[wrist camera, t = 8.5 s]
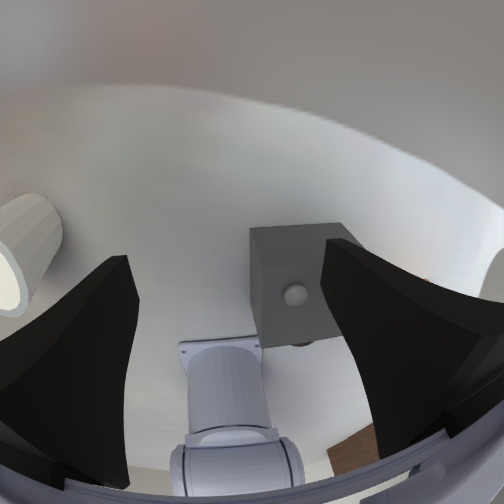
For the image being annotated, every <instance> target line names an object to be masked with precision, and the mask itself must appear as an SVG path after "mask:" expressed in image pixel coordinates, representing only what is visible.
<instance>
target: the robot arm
mask: <svg viewBox="0 0 504 504" xmlns="http://www.w3.org/2000/svg"><path fill="white" fill-rule="evenodd" d="M320 286H321V289H322V292H323V295H324V298H325V300H326V303H327V306H328V308H329V310H330V312H331V314H332V316H333V318H334V319H335V321H336V323H337V325H338V327H339V329H340V331H341V333H342V335H343V337H344V339H345V341H346V343H347V345H348V346H349V348H350V350H351V353H352V355H353V357H354V359H355V362H356V365H357V368H358V370H359V373H360V376H361V379H362V382H363V385H364V389H365V392H366V396H367V399H368V403H369V407H370V411H371V415H372V419H373V424H374V429H375V435H376V441H377V447H378V455H379V458H380V460H379V461H377V462H374V463H372V464H369V465H367V466H364V467H361V468H358V469H356V470H353V471H350V472H347V473H344V474H340V475H337V476H334V477H330V478H327V479H324V480H319V481H316V482H312V483H307V484H305V473H304V467H303V463H302V459H301V456H300V453H299V451H298V448H297V447H296V445H295V444H294V443H293V442H292V441H290V440H289V439H288V438H287V437H280V438H279V434H278V430H277V428H272V426H271V421H270V417H269V412H268V407H267V403H266V398H265V393H264V389H263V384H262V379H261V377H262V349H261V348H260V344H259V339H258V336H257V337H247V338H238V339H227V340H216V341H202V342H187V343H180V344H179V345H178V350H179V353H180V357H181V360H182V363H183V366H184V369H185V372H186V375H187V378H188V421H189V434H186V435H185V444H179V445H178V446H177V447H176V448H175V449H174V450H173V451H172V454H171V458H170V479H171V487H172V491H173V495H174V496H164V495H151V494H142V493H133V492H127V491H121V490H123V489H125V488H127V487H128V486H129V485H130V480H129V475H128V469H127V461H126V454H125V442H124V388H125V379H126V372H127V367H128V363H129V358H130V353H131V349H132V344H133V340H134V335H135V331H136V327H137V321H138V313H139V303H140V299H139V296H138V293H137V289H136V286H135V283H134V279H133V276H132V272H131V269H130V265H129V262H128V258H127V255H121V256H111V257H110V258H108V259H107V260H106V261H104V262H103V263H102V264H101V265H99V266H98V267H97V268H96V269H95V270H93V271H92V272H91V273H90V274H89V275H88V276H87V277H85V278H84V279H83V280H82V281H81V282H80V283H79V284H78V285H76V286H75V287H74V288H73V289H72V290H71V291H69V292H68V293H67V294H66V295H65V296H64V297H62V298H61V299H60V300H59V301H58V302H57V303H55V304H54V305H53V306H52V307H50V308H49V309H48V310H47V311H45V312H44V313H43V314H41V315H40V316H39V317H37V318H36V319H35V320H33V321H32V322H30V323H29V324H27V325H26V326H24V327H22V328H21V329H19V330H18V331H16V332H15V333H13V334H12V335H10V336H9V337H7V338H5V339H3V340H2V341H0V504H323V503H327V502H330V501H334V500H337V499H340V498H343V497H346V496H349V495H352V494H355V493H358V492H361V491H363V490H366V489H368V488H371V487H373V486H376V485H378V484H381V483H383V482H385V481H388V480H389V479H392V478H394V477H396V476H398V475H400V474H403V473H405V472H407V471H408V470H411V471H410V472H409V476H408V478H407V479H406V480H404V481H403V482H400V483H398V484H396V485H394V486H392V487H390V488H388V489H385V490H384V491H381V492H379V493H377V494H374V495H372V496H369V497H367V498H364V499H362V500H360V504H489V503H490V502H491V501H492V500H493V498H494V497H495V496H496V495H497V493H498V492H499V491H500V489H501V488H502V487H503V485H504V303H500V302H493V301H488V300H484V299H480V298H476V297H472V296H468V295H465V294H461V293H458V292H455V291H452V290H449V289H446V288H444V287H441V286H438V285H436V284H433V283H431V282H429V281H426V280H424V279H422V278H419V277H417V276H415V275H413V274H411V273H409V272H407V271H405V270H403V269H401V268H399V267H397V266H395V265H393V264H391V263H389V262H387V261H385V260H384V259H382V258H380V257H378V256H376V255H375V254H373V253H371V252H369V251H367V250H365V249H364V248H362V247H360V246H358V245H356V244H354V243H352V242H350V241H348V240H345V239H343V238H335V239H326V247H325V254H324V261H323V267H322V273H321V280H320ZM256 344H257V345H256ZM183 350H184V351H183ZM412 468H413V469H412ZM95 485H98V486H95ZM100 486H103V487H100ZM104 486H105V487H109V488H115V489H121V490H115V489H109V488H104Z"/></svg>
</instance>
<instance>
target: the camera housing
mask: <svg viewBox="0 0 504 504" xmlns="http://www.w3.org/2000/svg"><path fill="white" fill-rule="evenodd" d="M335 238H343V239H345V240H348V241H350V242H352V243H354V244H356V245H358V246H360V247H362V248H364V247H363V246H362V245H361V244H360V243H359V242H358V241H357V240H356V239H355V237H354V236H353V235H352V234H351V233H350V232H349V231H348V230H347V229H346V228H345V227H344V226H343V225H342V224H341V223H328V224H310V225H293V226H277V227H261V228H250V285H251V307H252V312H253V316H254V321H255V325H256V330H257V335H258V339H259V344H260V348H261V349H263V348H271V347H278V346H285V345H292V346H298V347H301V346H307V345H309V344H311V343H313V342H314V341H316V340H322V339H328V338H333V337H338V336H343V335H342V333H341V331H340V329H339V327H338V325H337V323H336V321H335V319H334V318H333V316H332V314H331V312H330V310H329V308H328V306H327V303H326V300H325V298H324V295H323V292H322V289H321V286H320V280H321V273H322V267H323V261H324V254H325V247H326V239H335ZM364 249H365V248H364ZM365 250H366V249H365Z"/></svg>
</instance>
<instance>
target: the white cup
mask: <svg viewBox="0 0 504 504" xmlns="http://www.w3.org/2000/svg"><path fill="white" fill-rule="evenodd" d="M62 238H63V228H62V222H61V219H60V217H59V215H58V212H57V210H56V208H55V207H54V206H53V205H52V204H51V203H50V201H49V200H48V199H47V198H45V197H43V196H41V195H39V194H37V193H26V194H24V195H22V196H20V197H18V198H16V199H14V200H12V201H10V202H8V203H7V204H5V205H3V206H1V207H0V315H3V316H7V317H11V318H14V317H17V316H21V315H23V314H24V312H25V310H26V309H27V307H28V305H29V303H30V301H31V299H32V297H33V295H34V293H35V291H36V289H37V287H38V285H39V283H40V281H41V279H42V277H43V276H44V274H45V272H46V270H47V268H48V266H49V265H50V263H51V261H52V259H53V258H54V256H55V254H56V253H57V251H58V249H59V248H60V246H61V243H62Z"/></svg>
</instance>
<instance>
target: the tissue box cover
mask: <svg viewBox="0 0 504 504" xmlns="http://www.w3.org/2000/svg"><path fill="white" fill-rule="evenodd" d="M327 453H328V456H329V459H330V463H331V466H332V469H333V472H334V475H335V476H337V475H340V474H344V473H347V472H350V471H353V470H356V469H358V468H361V467H364V466H367V465H369V464H372V463H374V462H377V461H379V460H380V458H379V455H378V447H377V441H376V435H375V429H374V424H373V423H371V424H369V425H368V426H366V427H365V428H363V429H361V430H360V431H358V432H356V433H355V434H353V435H351V436H349V437H348V439H346V440H344V441H342V442H340V443H339V444H337V445H335V446H333V447H331V448H329V449H327Z"/></svg>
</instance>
